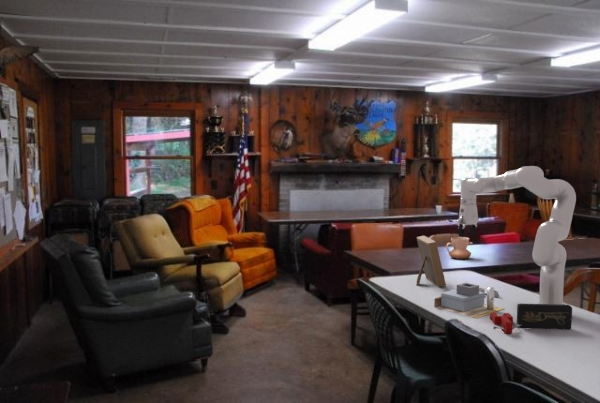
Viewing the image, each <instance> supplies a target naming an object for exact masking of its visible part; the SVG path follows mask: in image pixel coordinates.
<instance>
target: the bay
mask: <svg viewBox="0 0 600 403" xmlns="http://www.w3.org/2000/svg"><path fill="white" fill-rule="evenodd" d="M433 301H434V305H433V306H434V308H436V309H441V310H444V311H448V312H452V313H455V314H460V315H464V316H467V317H469V318H470V317H471V318H474V319H479V318H482V317H484V316H488V315H490V313H497V312H500V311H503V310H505V308H503V307H499V306H498V307H497V306H494V310H492V311H490V310H487V303H486V304H485V303H484V306H481V307H477V308H474V309H471V310H468V311H464V312H463V311H459V310H455V309H451V308H448V307H444V306H441V296H438V297H434V300H433ZM468 320H469V319H468ZM469 321H470V320H469Z"/></svg>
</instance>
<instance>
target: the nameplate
mask: <svg viewBox="0 0 600 403" xmlns="http://www.w3.org/2000/svg"><path fill="white" fill-rule="evenodd" d="M572 314H573V307H572V306H571V305H570V304H565V305H562V304H539V303H520V302H519V303H517V305H516V324H517V325H518V326H517V328H519V329H526V328H531V329H532V330H535V329H536V330H561V331H562V330H563V331H565V330H566V331H567V330H568V331H569V330H572V326H573V325H572V320H573V315H572ZM531 329H530V330H531Z"/></svg>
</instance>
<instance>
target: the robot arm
mask: <svg viewBox="0 0 600 403" xmlns="http://www.w3.org/2000/svg"><path fill="white" fill-rule="evenodd" d="M544 175H545V174H544V171H543V169H541V167H539V166H537V165H536V166H535V165H529V166H527V165H526V166H525V165H524V166H521V167H520V168H517V169H512V170H508V171H505V173H504V174H500V175H495V176H491V177H490V176H488V177H476V178H475V177H463V178H461V180H460V206H459V212H458V219H457V220H456V225H457V228H458V237H465V238H466V229H465V228H466V226H470V228H469V229H470V230H469V231H470V232H469V233H470V234H469V235H470V236H471V235H472V236H477V227H478V224H479V221H480V219H479V216H478V207H477V194H485V193H493V192H494V193H495V192H499V191H505V190H513V189H518V188H521V187H522V188H525V189H526V190H528V192H531V193H532V194H534V195H535V196H537V197H539V198H540V199H543V200H553V199H555V200H554V204H553V206H552V207H551V213H550V216H549V219H548V220H547V221H544V222H543V223H541V224H540V225H539V226H538V229H537V231H536V235H535V239H534V243H533V248H532V255H531V256H532V260H533V262H534V263H535V264H536V265H537V266H539V267H540V275H539V277H540V278H539V300H538V301H539V302H538V304H562V305H566V303H564V283H565V282H564V281H565V280H564V279H565V267H566V263H567V251H566V248H565V247H564V246H563V245H562V244H560V243H559V242H561V241H564V240H566V239H567V238H568V236H569V234H570V230H571V225H572V220H573V214H574V210H575V206H576V202H577V194H576V192H575V188H574V187H573V186H572V185H571V184H570V183H569V182H568V181H566V180H563V179H561V178H560V179H559V178H557V179H556V178H555V179H554V178H553V179H548V178H546V177H544Z"/></svg>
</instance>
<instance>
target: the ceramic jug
mask: <svg viewBox="0 0 600 403" xmlns="http://www.w3.org/2000/svg"><path fill="white" fill-rule="evenodd" d="M450 241H451V242H447V243H446V246H445V248H446V251H447V252H448V255H449V257H451V258H453V259H455V260H466V259H469V258H470V257H471V255H472V252H471V251H469V250H468V249H467V248H468V246H469V245H473V242H471V241H470V238H469V237H466V236H465V237H460V236H458V237H451V238H450ZM449 245H450V246H452V247H453V249H451V250H450V249H449Z"/></svg>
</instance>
